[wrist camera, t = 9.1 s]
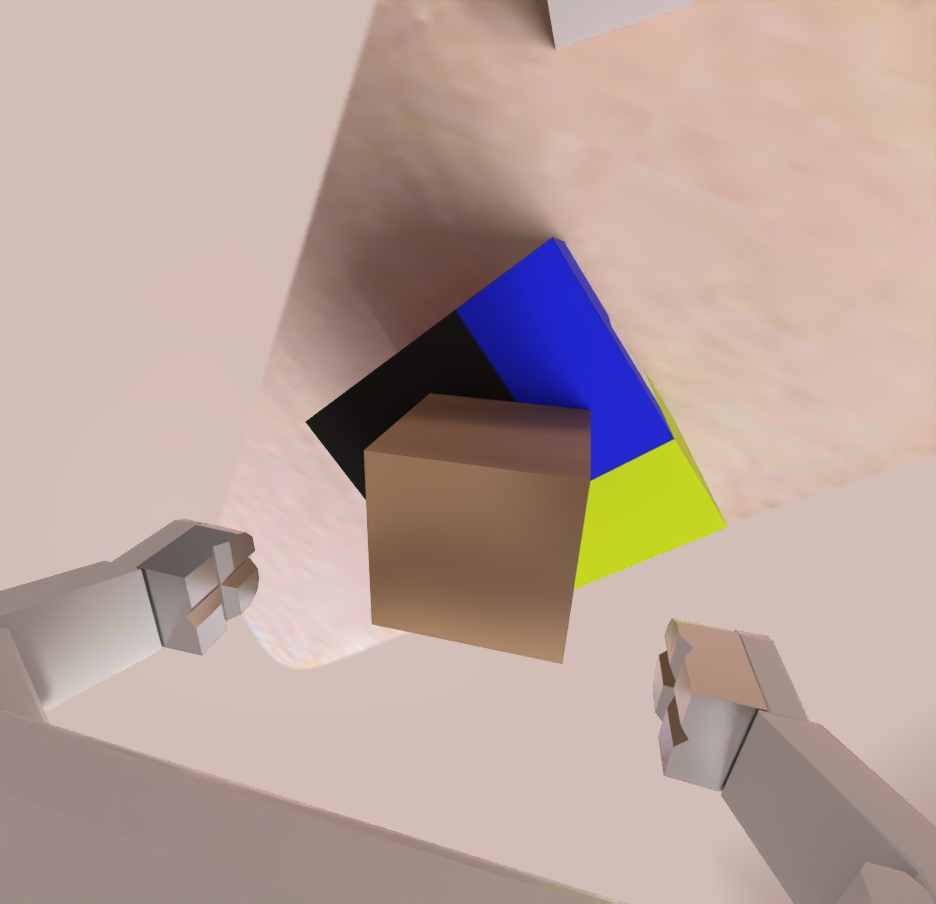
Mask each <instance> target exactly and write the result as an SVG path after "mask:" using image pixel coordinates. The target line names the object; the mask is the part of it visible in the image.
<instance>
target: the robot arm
mask: <svg viewBox="0 0 936 904" xmlns="http://www.w3.org/2000/svg"><path fill="white" fill-rule="evenodd" d="M254 551H255V548H254V543H253V538H252V536H250V535H249V534H247V533H246V532H242V531H237V530H233V529H229V528H224V527H220V526H215V525H211V524H206V523H201V522H196V521H192V520H187V519H180V520H175V521H173V522H172V523H170V524H168V525H167V526H166V527H164V528H162V529H161V530H159V531H158V532H156V533H155V534H153V535H152V536H150V537H149V538H147V539H146V540H144V541H143V542H141V543H140V544H138V545H137V546H135V547H134V548H132V549H130V550H129V551H128V552H126V553H124V554H123V555H121V556H120V557H118V558H117V559H115V560H114V561H113V562H107V561H102V562H99V563H96V564H92V565H89V566H85V567H82V568H78V569H75V570H72V571H68V572H64V573H61V574H57V575H54V576H51V577H47V578H44V579H40V580H37V581H34V582H30V583H27V584H23V585H20V586H16V587H13V588H9V589H6V590H3V591H0V904H627V903H623V902H620V901H617V900H614V899H611V898H607V897H604V896H601V895H598V894H594V893H591V892H588V891H585V890H581V889H578V888H575V887H572V886H568V885H566V884H562V883H559V882H556V881H553V880H549V879H546V878H543V877H540V876H536V875H533V874H530V873H527V872H523V871H520V870H517V869H514V868H511V867H507V866H504V865H501V864H498V863H495V862H491V861H488V860H485V859H482V858H479V857H475V856H472V855H469V854H466V853H462V852H459V851H456V850H453V849H449V848H446V847H443V846H440V845H437V844H434V843H430V842H427V841H424V840H420V839H417V838H414V837H411V836H408V835H404V834H401V833H398V832H395V831H392V830H388V829H385V828H382V827H379V826H376V825H372V824H369V823H366V822H363V821H359V820H356V819H353V818H350V817H346V816H343V815H340V814H337V813H334V812H330V811H327V810H324V809H321V808H317V807H314V806H311V805H308V804H305V803H301V802H298V801H295V800H292V799H289V798H285V797H282V796H279V795H276V794H273V793H269V792H266V791H263V790H260V789H256V788H253V787H250V786H247V785H244V784H240V783H237V782H234V781H230V780H227V779H224V778H221V777H217V776H215V775H212V774H208V773H205V772H202V771H199V770H195V769H192V768H189V767H185V766H183V765H179V764H176V763H173V762H170V761H167V760H163V759H160V758H157V757H154V756H150V755H147V754H144V753H141V752H138V751H134V750H131V749H128V748H125V747H121V746H118V745H115V744H112V743H109V742H105V741H102V740H99V739H96V738H93V737H90V736H86V735H83V734H80V733H76V732H73V731H70V730H67V729H64V728H61V727H57V726H54V725H51V724H50V723H49V721H48V719H47V716H46V714H45V712H46V711H48V710H49V709H51V708H53V707H55V706H57V705H59V704H61V703H62V702H64V701H66V700H68V699H70V698H72V697H74V696H76V695H77V694H79V693H81V692H83V691H85V690H86V689H89V688H90V687H92V686H94V685H96V684H98V683H100V682H102V681H103V680H105V679H107V678H109V677H111V676H113V675H115V674H116V673H118V672H120V671H122V670H124V669H126V668H128V667H130V666H132V665H133V664H135V663H137V662H139V661H141V660H143V659H144V658H146V657H148V656H150V655H152V654H154V653H156V652H158V651H159V650H161V649H162V647H167V648H171V649H176V650H180V651H184V652H189V653H194V654H198V655H203V654H204V653H205V652H206V651H207V650H208V649H209V648H210V647H211V646H212V644H214V643H215V642H216V640H217V639H218V638H219V637H220V636H221V635H222V634H223V633H224V632H225V631H226V629H227V620H229V619H231V618H233V617H236V616H238V615H240V614H242V613H243V612H244V611H245V610H246V609H247V607H248V606H249V605H250V604H251V602H252V600H253V598H254V596H255V594H256V592H257V589H258V582H259V575H258V568H257V567H256V566H255V564H254V563H253V562H252V560H251V559H250V557H251V555H252V554H253V553H254ZM665 641H666V647H667V651H665V652H663V653H662V654H660V655H659V657H658V661H657V664H656V668H655V675H654V684H653V696H654V697H653V698H654V707H655V713H656V714H657V715H658V716H659V718H660V719H661V720H662V722H663V723H662V726H661V729H660V732H659V736H658V738H659V745H660V752H661V760H662V767H663V773H664V776H667V777H670V778H674V779H677V780H681V781H684V782H688V783H691V784H695V785H698V786H701V787H705V788H709V789H712V790H716V791H719V792H722V794H721V796H722V797H723V799H724V800H725V802H726V803H727V805H728V806H729V807H730V809H731V811H732V812H733V814H734V815H735V817H736V818H737V819H738V821H739V823H740V824H741V826H742V827H743V828H744V830H745V832H746V833H747V834H748V836H749V837H750V839H751V840H752V842H753V843H754V845H755V846H756V848H757V849H758V851H759V852H760V854H761V855H762V857H763V858H764V860H765V861H766V863H767V864H768V866H769V867H770V869H771V870H772V872H773V873H774V875H775V876H776V877H777V879H778V880H779V882H780V884H781V885H782V887H783V888H784V890H785V891H786V893H787V894H788V895H789V897H790V898H791V900H792V901H793V903H794V904H936V827H935V826H934V825H933V824H932V823H930V821H928V820H927V819H926V818H925V817H924V816H923V815H922V814H921V813H919V812H918V811H917V810H916V809H915V808H914V807H913V806H912V805H910V804H909V803H908V802H907V801H906V800H905V799H904V798H903V797H902V796H900V795H899V794H898V793H897V792H896V791H895V790H894V789H893V788H892V787H890V786H889V785H888V784H887V783H886V782H885V781H884V780H883V779H882V778H880V777H879V776H878V775H877V774H876V773H875V772H874V771H873V770H871V769H870V768H869V767H868V766H867V765H866V764H865V763H864V762H862V761H861V760H860V759H859V758H858V757H857V756H856V755H855V754H854V753H852V752H851V751H850V750H849V749H848V748H847V747H846V746H845V745H843V744H842V743H841V742H840V741H839V740H838V739H837V738H836V737H835V736H833V735H832V734H831V733H830V732H829V731H828V730H827V729H826V728H824V727H823V726H822V725H821V724H817V723H813V722H810V720H809V718H808V716H807V714H806V712H805V709H804V707H803V705H802V703H801V701H800V699H799V697H798V694H797V692H796V690H795V688H794V686H793V683H792V681H791V679H790V677H789V675H788V673H787V670H786V668H785V666H784V664H783V662H782V660H781V658H780V655H779V653H778V651H777V649H776V647H775V645H774V642H773V641H772V640H771V639H770V638H769V637H768V636H764V635H759V634H753V633H748V632H742V631H736V630H735V631H732V630H727V629H722V628H717V627H712V626H706V625H702V624H696V623H691V622H686V621H681V620H676V619H672V620H671V621H670V623H669V624H668V627H667V630H666V633H665Z"/></svg>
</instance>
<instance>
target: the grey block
mask: <svg viewBox="0 0 936 904" xmlns="http://www.w3.org/2000/svg"><path fill="white" fill-rule="evenodd" d="M547 2H548V7H549V13H550V19H551V25H552V31H553V37H554V43H555V48H556V49H559V48H562V47H565V46H568V45H571V44H574V43H577V42H580V41H583V40H586V39H589V38H593V37H596V36H599V35H602V34H605V33H608V32H611V31H614V30H617V29H620V28H623V27H626V26H629V25H632V24H635V23H638V22H642V21H645V20H648V19H651V18H654V17H657V16H660V15H663V14H666V13H669V12H672V11H675V10H678V9H681V8H684V7H687V6H690V5H692V3H693V0H547Z"/></svg>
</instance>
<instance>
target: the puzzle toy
mask: <svg viewBox="0 0 936 904" xmlns="http://www.w3.org/2000/svg"><path fill="white" fill-rule="evenodd" d="M430 393H433V394H443V395H452V396H461V397H471V398H480V399H490V400H499V401H509V402H518V403H528V404H537V405H547V406H556V407H566V408H575V409H585V410H591V477H590V487H589V494H588V500H587V507H586V513H585V520H584V526H583V533H582V539H581V546H580V552H579V559H578V565H577V572H576V578H575V585H574V589H577V588H579V587H582V586H584V585H586V584H589V583H591V582H594V581H596V580H599V579H601V578H604V577H606V576H608V575H611V574H613V573H616V572H618V571H621V570H623V569H626V568H628V567H631V566H633V565H636V564H638V563H641V562H643V561H645V560H648V559H650V558H653V557H655V556H658V555H660V554H663V553H665V552H668V551H670V550H672V549H675V548H677V547H680V546H682V545H685V544H687V543H690V542H692V541H695V540H697V539H699V538H702V537H704V536H707V535H709V534H712V533H714V532H717V531H719V530H722V529H724V528H726V527H727V525H726V523H725V521H724V519H723V517H722V515H721V513H720V511H719V509H718V507H717V505H716V503H715V501H714V499H713V497H712V495H711V493H710V491H709V489H708V487H707V485H706V483H705V481H704V479H703V477H702V475H701V473H700V471H699V469H698V467H697V465H696V463H695V461H694V459H693V457H692V455H691V453H690V451H689V449H688V447H687V445H686V443H685V441H684V439H683V436H682V434H681V432H680V430H679V428H678V426H677V424H676V423H675V421H674V419H673V418H672V416H671V414H670V413H669V411H668V409H667V408H666V406H665V404H664V403H663V401H662V399H661V398H660V396H659V394H658V393H657V391H656V389H655V388H654V386H653V384H652V383H651V381H650V379H649V378H648V376H647V374H646V373H645V371H644V369H643V368H642V366H641V364H640V363H639V361H638V359H637V358H636V356H635V354H634V353H633V351H632V349H631V348H630V346H629V344H628V343H627V341H626V339H625V338H624V336H623V334H622V333H621V331H620V329H619V328H618V326H617V324H616V323H615V321H614V319H613V318H612V316H611V314H610V313H609V311H608V309H607V308H606V306H605V304H604V303H603V301H602V299H601V298H600V296H599V294H598V293H597V291H596V289H595V288H594V286H593V284H592V283H591V281H590V279H589V278H588V276H587V274H586V273H585V271H584V269H583V268H582V266H581V264H580V263H579V261H578V259H577V258H576V256H575V254H574V253H573V251H572V249H571V248H570V246H569V244H568V243H565V242H563V241H560V240H558V239H556V238H553V237H552V238H551V239H549V240H548V241H547V242H545V243H544V244H543V245H541V246H540V247H539V248H537V249H536V250H535V251H533V252H532V253H531V254H529V255H528V256H527V257H525V258H524V259H523V260H521V261H520V262H519V263H517V264H516V265H515V266H513V267H512V268H511V269H509V270H508V271H507V272H505V273H504V274H503V275H501V276H500V277H499V278H497V279H496V280H495V281H493V282H492V283H491V284H489V285H488V286H487V287H485V288H484V289H482V290H481V291H480V292H478V293H477V294H476V295H474V296H473V297H472V298H470V299H469V300H468V301H466V302H465V303H464V304H462V305H461V306H460V307H458V308H457V309H456V310H454V311H453V312H452V313H450V314H449V315H448V316H446V317H445V318H444V319H442V320H441V321H440V322H438V323H437V324H436V325H434V326H433V327H432V328H430V329H429V330H428V331H426V332H425V333H424V334H422V335H421V336H420V337H418V338H417V339H416V340H414V341H413V342H412V343H410V344H409V345H408V346H406V347H405V348H404V349H402V350H401V351H400V352H398V353H397V354H395V355H394V356H393V357H391V358H390V359H389V360H387V361H386V362H385V363H383V364H382V365H381V366H379V367H378V368H377V369H375V370H374V371H373V372H371V373H370V374H369V375H367V376H366V377H365V378H363V379H362V380H361V381H359V382H358V383H357V384H355V385H354V386H353V387H351V388H350V389H349V390H347V391H346V392H345V393H343V394H342V395H341V396H339V397H338V398H337V399H335V400H334V401H333V402H331V403H330V404H329V405H327V406H326V407H325V408H323V409H322V410H321V411H319V412H318V413H317V414H315V415H314V416H312V417H311V418H310V419H308V420H307V421H306V423H307V425H308V426H309V427H310V428H311V430H312V431H313V432H314V434H315V435H316V436H317V438H318V439H319V440H320V441H321V443H322V444H323V445H324V447H325V448H326V449H327V450H328V452H329V453H330V454H331V456H332V457H333V458H334V460H335V461H336V462H337V463H338V465H339V466H340V467H341V469H342V470H343V471H344V472H345V474H346V475H347V476H348V478H349V479H350V480H351V482H352V483H353V484H354V485H355V487H356V488H357V489H358V491H359V492H360V493H361V494H362V496H363V497H364V498H365V500H366V486H365V464H364V450H365V449H366V448H367V447H368V446H370V445H371V444H372V443H373V442H374V441H375V440H377V439H378V438H379V437H380V436H381V435H382V434H383V433H385V432H386V431H387V430H388V429H389V428H390V427H392V426H393V425H394V424H395V423H396V422H397V421H398V420H400V419H401V418H402V417H403V416H404V415H405V414H407V413H408V412H409V411H410V410H411V409H412V408H414V407H415V406H416V405H417V404H418V403H419V402H420V401H422V400H423V399H424V398H425V397H426V396H427V395H429V394H430Z"/></svg>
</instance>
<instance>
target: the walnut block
mask: <svg viewBox="0 0 936 904" xmlns="http://www.w3.org/2000/svg"><path fill="white" fill-rule="evenodd" d="M364 464H365V486H366V507H367V529H368V550H369V572H370V594H371V615H372V624H374V625H378V626H383V627H388V628H393V629H397V630H402V631H407V632H412V633H417V634H421V635H426V636H431V637H436V638H441V639H445V640H450V641H455V642H460V643H464V644H469V645H474V646H479V647H484V648H488V649H493V650H499V651H503V652H508V653H512V654H517V655H522V656H527V657H532V658H536V659H542V660H546V661H551V662H555V663H560V664H562V663H563V656H564V650H565V643H566V636H567V630H568V624H569V617H570V611H571V604H572V598H573V591H574V585H575V578H576V572H577V565H578V559H579V552H580V546H581V539H582V533H583V526H584V520H585V513H586V507H587V500H588V494H589V487H590V477H591V410H585V409H575V408H566V407H556V406H547V405H537V404H528V403H518V402H509V401H499V400H490V399H480V398H471V397H461V396H452V395H443V394H433V393H430V394H429V395H427V396H426V397H425V398H424V399H423V400H422V401H420V402H419V403H418V404H417V405H416V406H415V407H414V408H412V409H411V410H410V411H409V412H408V413H407V414H405V415H404V416H403V417H402V418H401V419H400V420H398V421H397V422H396V423H395V424H394V425H393V426H392V427H390V428H389V429H388V430H387V431H386V432H385V433H383V434H382V435H381V436H380V437H379V438H378V439H377V440H375V441H374V442H373V443H372V444H371V445H370V446H368V447H367V448H366V449H365V450H364Z"/></svg>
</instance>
